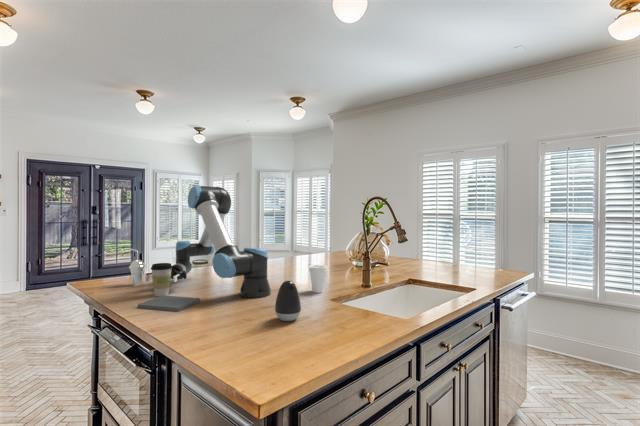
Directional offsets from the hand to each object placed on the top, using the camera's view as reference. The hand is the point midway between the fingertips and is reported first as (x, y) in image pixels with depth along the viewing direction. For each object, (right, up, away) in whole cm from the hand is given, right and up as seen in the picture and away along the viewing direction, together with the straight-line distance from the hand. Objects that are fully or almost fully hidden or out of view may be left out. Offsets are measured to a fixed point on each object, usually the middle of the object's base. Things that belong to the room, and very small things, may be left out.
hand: (159, 279), depth 171 cm
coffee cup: (0, -8, +2) cm, 8 cm away
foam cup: (+77, -9, +11) cm, 79 cm away
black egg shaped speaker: (+66, -9, -34) cm, 75 cm away
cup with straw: (-23, -7, +22) cm, 33 cm away
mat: (+12, -8, -15) cm, 21 cm away
